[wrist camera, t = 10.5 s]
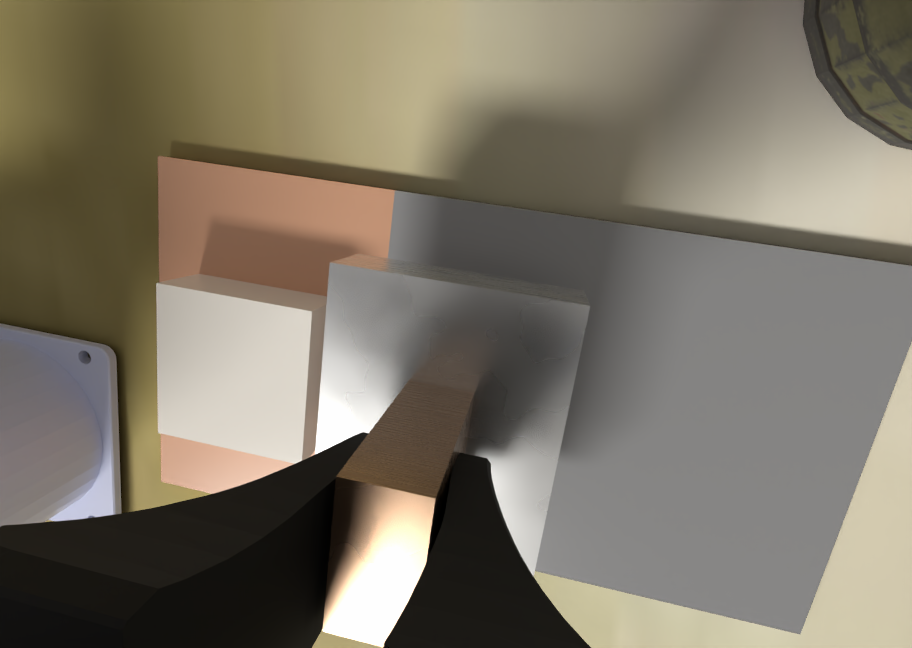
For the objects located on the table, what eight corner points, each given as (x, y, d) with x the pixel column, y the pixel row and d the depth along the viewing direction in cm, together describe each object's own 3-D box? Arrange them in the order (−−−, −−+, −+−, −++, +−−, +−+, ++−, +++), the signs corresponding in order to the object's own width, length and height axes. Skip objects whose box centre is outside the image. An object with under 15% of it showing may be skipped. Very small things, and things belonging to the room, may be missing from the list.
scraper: (336, 510, 16) (202, 709, 10) (359, 253, 14) (209, 297, 8) (529, 555, 15) (518, 801, 9) (584, 290, 13) (617, 372, 7)
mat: (170, 474, 20) (161, 481, 20) (168, 157, 17) (157, 155, 17) (793, 622, 17) (800, 634, 17) (925, 267, 14) (938, 269, 14)
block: (197, 408, 19) (158, 432, 17) (199, 273, 18) (156, 283, 16) (327, 437, 18) (301, 465, 16) (338, 298, 17) (312, 311, 15)
